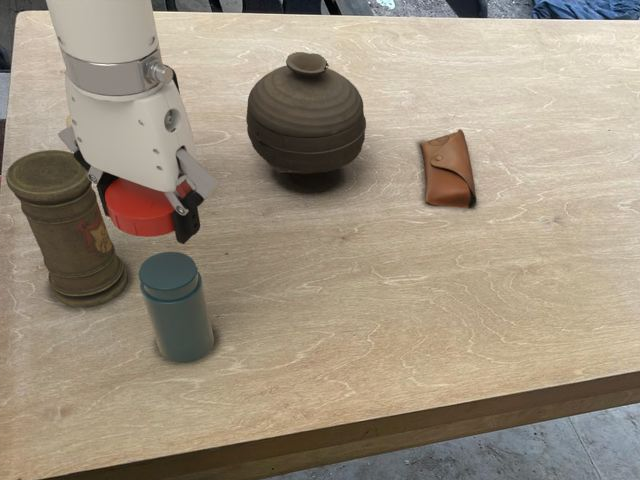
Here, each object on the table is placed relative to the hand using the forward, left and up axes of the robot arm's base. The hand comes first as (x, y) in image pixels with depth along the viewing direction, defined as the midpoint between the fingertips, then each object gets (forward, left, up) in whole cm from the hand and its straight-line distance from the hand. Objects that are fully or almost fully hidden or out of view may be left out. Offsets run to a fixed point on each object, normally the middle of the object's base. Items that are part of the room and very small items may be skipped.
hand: (153, 221), depth 71 cm
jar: (0, 0, -20) cm, 20 cm away
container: (-12, +11, -20) cm, 26 cm away
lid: (0, 0, +3) cm, 3 cm away
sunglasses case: (+40, +35, -20) cm, 57 cm away
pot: (+17, +35, -20) cm, 44 cm away
